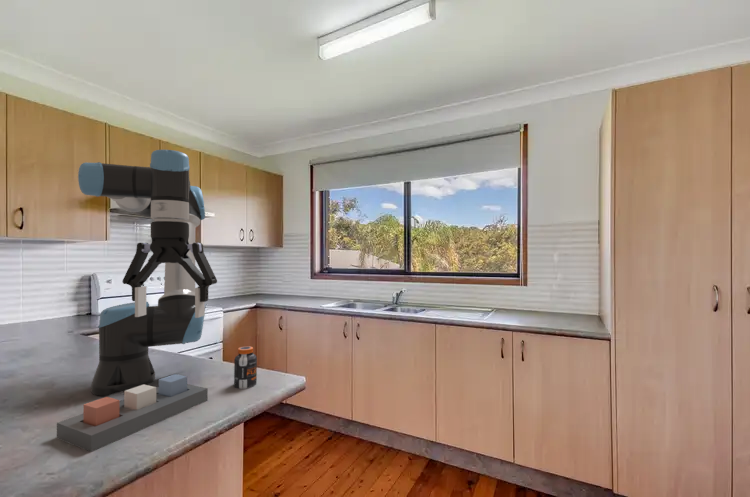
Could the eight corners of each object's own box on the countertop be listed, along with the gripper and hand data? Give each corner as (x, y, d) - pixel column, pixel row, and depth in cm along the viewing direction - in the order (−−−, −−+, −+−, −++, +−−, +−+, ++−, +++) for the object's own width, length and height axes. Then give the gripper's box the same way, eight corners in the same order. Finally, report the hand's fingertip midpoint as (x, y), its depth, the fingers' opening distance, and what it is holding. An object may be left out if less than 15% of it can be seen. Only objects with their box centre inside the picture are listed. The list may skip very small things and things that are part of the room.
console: (56, 442, 74) (56, 422, 74) (175, 396, 98) (175, 381, 98) (91, 457, 69) (91, 435, 69) (207, 404, 93) (207, 388, 93)
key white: (124, 408, 82) (124, 390, 82) (143, 401, 86) (143, 384, 86) (136, 412, 80) (136, 394, 80) (156, 404, 84) (156, 387, 84)
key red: (83, 424, 75) (83, 404, 75) (106, 415, 79) (106, 396, 79) (96, 428, 73) (96, 408, 73) (119, 419, 77) (119, 400, 77)
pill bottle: (249, 392, 100) (249, 351, 100) (229, 391, 101) (229, 349, 101) (260, 385, 106) (260, 345, 106) (241, 383, 107) (241, 344, 107)
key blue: (158, 396, 90) (158, 379, 90) (175, 389, 94) (175, 374, 94) (170, 399, 88) (170, 382, 88) (187, 392, 92) (187, 376, 92)
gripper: (103, 219, 79) (103, 318, 79) (217, 220, 78) (216, 320, 78) (128, 222, 87) (128, 312, 87) (232, 222, 86) (232, 313, 86)
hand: (170, 316), depth 83 cm, fingers open, 13 cm apart
